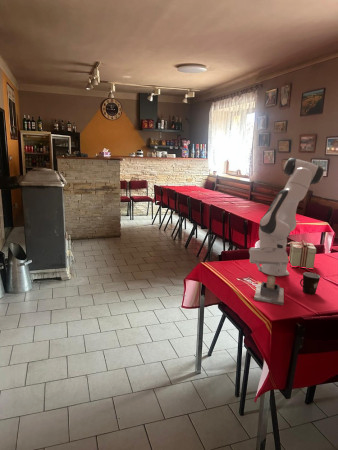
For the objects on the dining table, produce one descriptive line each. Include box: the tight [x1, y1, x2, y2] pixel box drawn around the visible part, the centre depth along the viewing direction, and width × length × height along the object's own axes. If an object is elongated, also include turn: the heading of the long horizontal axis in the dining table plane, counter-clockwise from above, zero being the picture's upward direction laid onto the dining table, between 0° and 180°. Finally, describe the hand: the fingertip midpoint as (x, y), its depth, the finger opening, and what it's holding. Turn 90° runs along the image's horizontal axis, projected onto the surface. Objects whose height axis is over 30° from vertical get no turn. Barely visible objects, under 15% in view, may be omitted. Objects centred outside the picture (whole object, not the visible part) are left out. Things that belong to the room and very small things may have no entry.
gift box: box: [286, 239, 317, 269], centre depth 228 cm, size 17×18×17 cm
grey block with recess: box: [253, 281, 285, 306], centre depth 175 cm, size 20×14×5 cm
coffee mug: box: [299, 272, 321, 296], centre depth 182 cm, size 12×9×10 cm
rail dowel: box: [266, 275, 277, 289], centre depth 174 cm, size 4×4×8 cm
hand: (269, 270), depth 178 cm, fingers open, 8 cm apart
